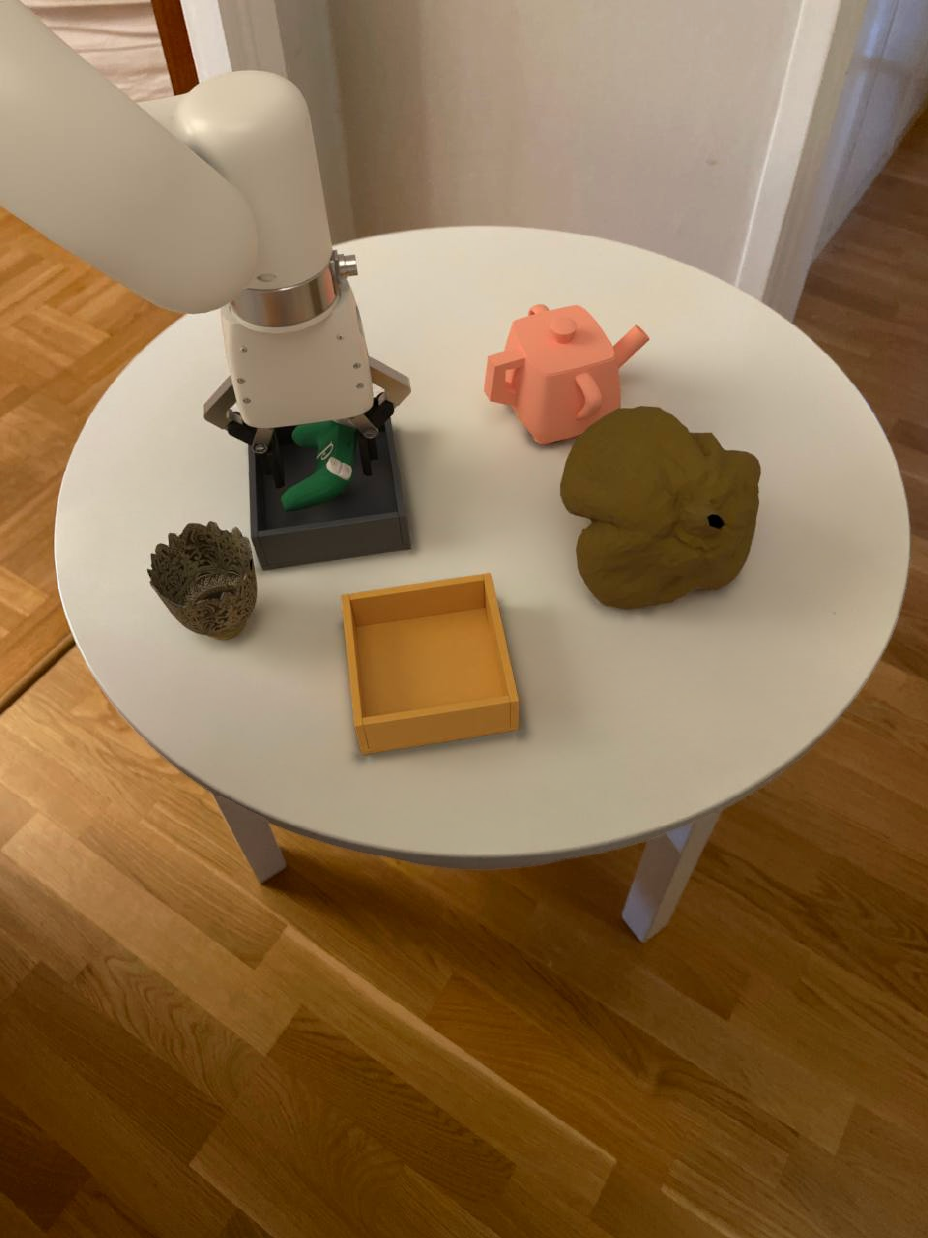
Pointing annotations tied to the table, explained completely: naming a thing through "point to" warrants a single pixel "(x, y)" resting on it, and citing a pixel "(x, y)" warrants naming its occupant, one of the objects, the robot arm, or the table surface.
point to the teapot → (559, 371)
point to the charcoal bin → (327, 508)
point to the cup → (206, 579)
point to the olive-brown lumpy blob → (658, 508)
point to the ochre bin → (428, 664)
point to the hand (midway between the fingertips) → (323, 468)
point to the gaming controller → (324, 462)
